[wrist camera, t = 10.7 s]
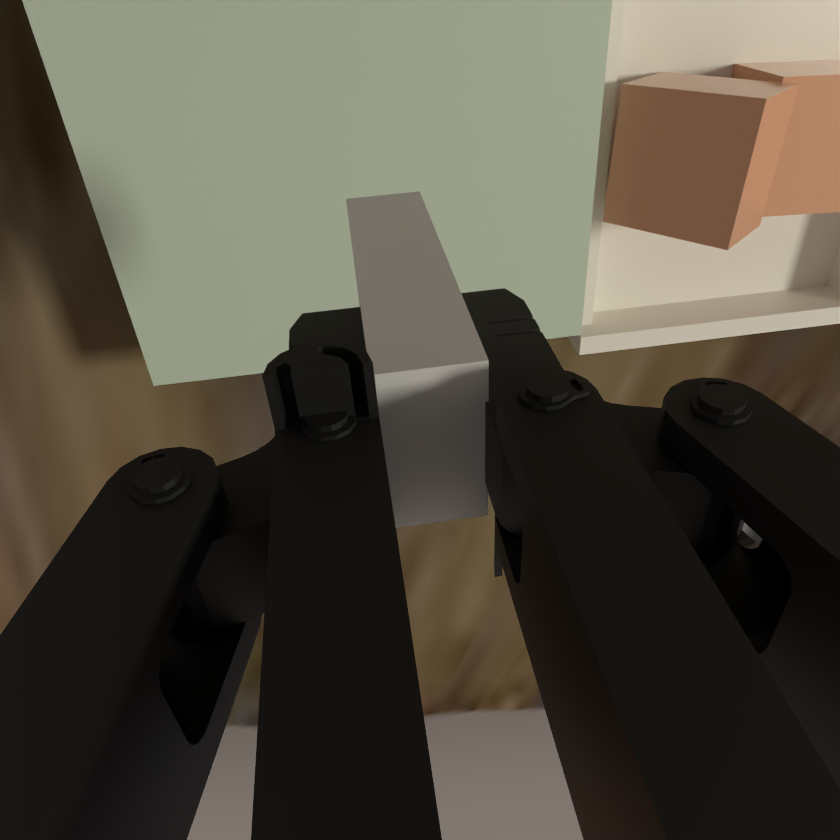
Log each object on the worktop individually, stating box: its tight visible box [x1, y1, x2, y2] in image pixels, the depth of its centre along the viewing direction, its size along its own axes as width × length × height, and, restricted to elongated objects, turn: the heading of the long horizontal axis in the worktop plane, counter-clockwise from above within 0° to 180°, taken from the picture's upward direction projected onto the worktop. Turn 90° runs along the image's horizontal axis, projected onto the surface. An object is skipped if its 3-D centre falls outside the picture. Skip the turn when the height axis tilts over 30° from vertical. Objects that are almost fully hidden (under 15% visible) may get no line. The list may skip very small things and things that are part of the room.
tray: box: [568, 0, 840, 355], centre depth 24 cm, size 16×13×2 cm
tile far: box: [732, 59, 840, 217], centre depth 24 cm, size 4×4×3 cm
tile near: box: [603, 72, 799, 250], centre depth 23 cm, size 4×4×3 cm
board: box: [22, 0, 612, 386], centre depth 23 cm, size 13×16×4 cm
